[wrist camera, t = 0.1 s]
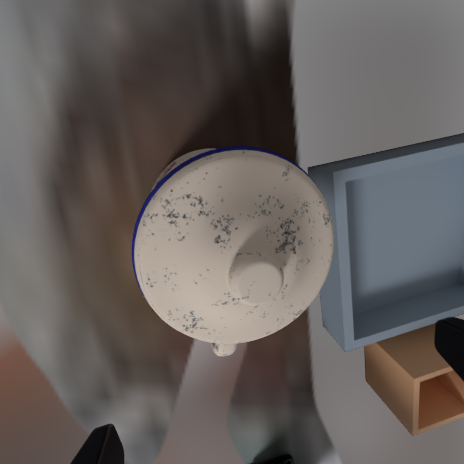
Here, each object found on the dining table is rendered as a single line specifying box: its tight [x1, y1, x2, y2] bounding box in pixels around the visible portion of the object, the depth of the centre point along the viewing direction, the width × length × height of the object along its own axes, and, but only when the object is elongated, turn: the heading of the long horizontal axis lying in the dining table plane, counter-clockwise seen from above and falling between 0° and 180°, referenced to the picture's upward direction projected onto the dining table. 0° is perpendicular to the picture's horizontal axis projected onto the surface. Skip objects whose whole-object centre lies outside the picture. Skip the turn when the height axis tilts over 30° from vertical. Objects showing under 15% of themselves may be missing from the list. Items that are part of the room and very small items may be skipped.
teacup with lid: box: [132, 146, 334, 356], centre depth 16 cm, size 12×9×12 cm
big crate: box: [308, 133, 464, 352], centre depth 23 cm, size 14×14×4 cm
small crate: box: [364, 323, 464, 436], centre depth 26 cm, size 6×6×6 cm
